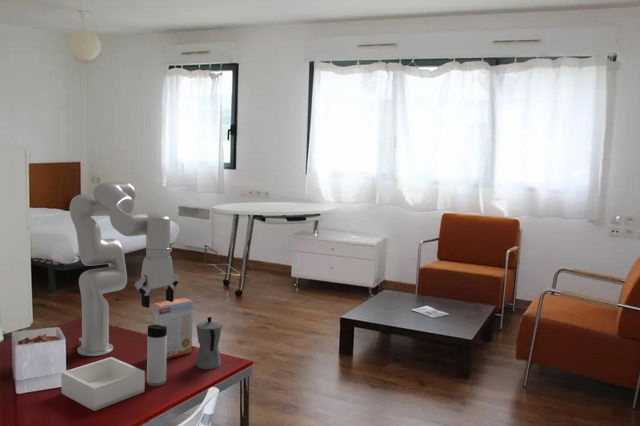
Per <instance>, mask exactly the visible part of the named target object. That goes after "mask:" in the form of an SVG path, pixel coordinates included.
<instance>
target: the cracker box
mask: <svg viewBox="0 0 640 426" xmlns="http://www.w3.org/2000/svg"><path fill="white" fill-rule="evenodd" d="M193 304H194V302H193V300H191V299H190V298H187V297H181V298H175V299H173V302H170V301H167V300H164V301H159V302H154V303H152V325H160V326H166V327H167V356H166V360H168V359H172V358H176V357H180V356H184V355H188V354H192V353H193V308H194V307H193Z"/></svg>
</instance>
